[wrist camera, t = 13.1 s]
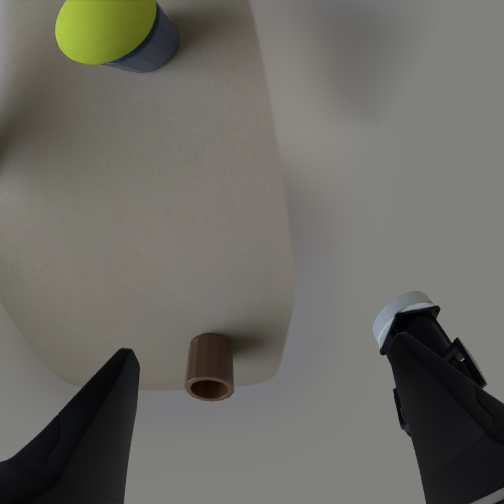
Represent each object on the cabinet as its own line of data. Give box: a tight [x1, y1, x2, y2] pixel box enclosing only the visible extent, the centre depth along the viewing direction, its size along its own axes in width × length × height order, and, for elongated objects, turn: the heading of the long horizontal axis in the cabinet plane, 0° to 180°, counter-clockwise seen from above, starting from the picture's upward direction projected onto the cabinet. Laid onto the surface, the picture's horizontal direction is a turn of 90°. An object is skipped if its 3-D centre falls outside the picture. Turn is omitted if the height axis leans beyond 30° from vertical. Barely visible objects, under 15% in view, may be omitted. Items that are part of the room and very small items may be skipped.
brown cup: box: [185, 334, 234, 401], centre depth 24 cm, size 4×4×5 cm
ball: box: [55, 0, 156, 64], centre depth 7 cm, size 4×4×4 cm
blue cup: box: [100, 0, 179, 73], centre depth 10 cm, size 4×4×5 cm
